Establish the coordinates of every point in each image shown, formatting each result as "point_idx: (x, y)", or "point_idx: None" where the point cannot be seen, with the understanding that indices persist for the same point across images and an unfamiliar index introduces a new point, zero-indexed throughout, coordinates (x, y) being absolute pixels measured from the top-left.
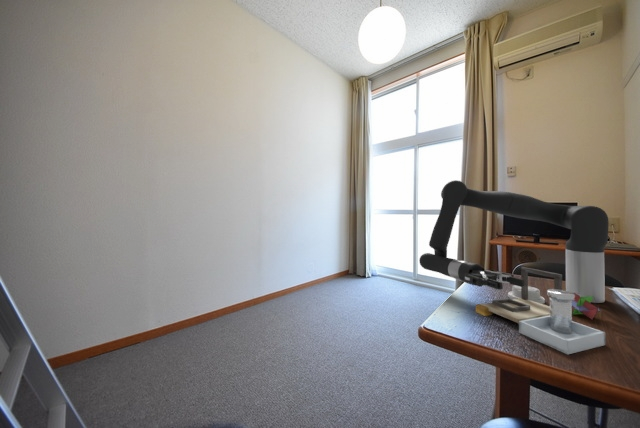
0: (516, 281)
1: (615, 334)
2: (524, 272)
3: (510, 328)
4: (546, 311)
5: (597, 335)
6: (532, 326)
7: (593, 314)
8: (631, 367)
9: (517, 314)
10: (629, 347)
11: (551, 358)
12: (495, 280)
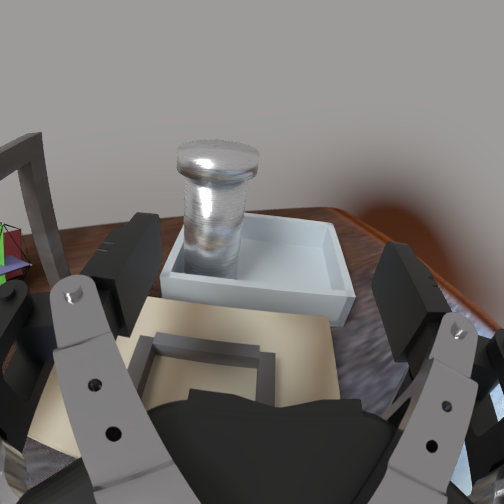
0: (144, 261)
1: (99, 238)
2: None
3: (344, 351)
4: None
5: None
6: (345, 269)
7: (18, 257)
8: (258, 211)
9: (281, 341)
10: (161, 221)
11: (371, 256)
12: (409, 272)
